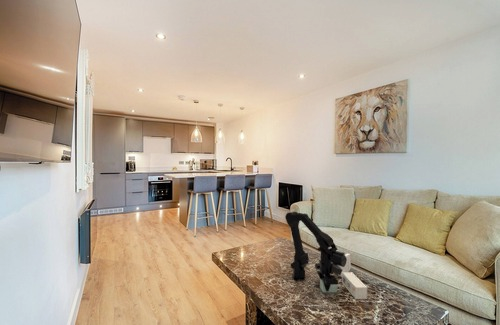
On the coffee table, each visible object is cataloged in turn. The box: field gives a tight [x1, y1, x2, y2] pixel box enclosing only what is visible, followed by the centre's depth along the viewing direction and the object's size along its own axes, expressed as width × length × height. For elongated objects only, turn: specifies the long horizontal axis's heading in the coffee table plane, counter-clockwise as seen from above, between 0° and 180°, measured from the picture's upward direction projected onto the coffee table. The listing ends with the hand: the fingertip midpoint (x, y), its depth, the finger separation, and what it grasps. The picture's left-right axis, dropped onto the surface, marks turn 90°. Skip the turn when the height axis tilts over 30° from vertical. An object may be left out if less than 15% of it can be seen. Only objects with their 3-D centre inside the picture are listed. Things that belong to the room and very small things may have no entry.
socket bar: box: [341, 271, 368, 300], centre depth 125 cm, size 6×16×6 cm, turn 2°
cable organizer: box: [331, 253, 352, 278], centre depth 146 cm, size 15×11×12 cm
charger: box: [319, 278, 342, 293], centre depth 125 cm, size 10×4×5 cm, turn 92°
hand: (325, 288), depth 125 cm, fingers closed on charger, 4 cm apart
